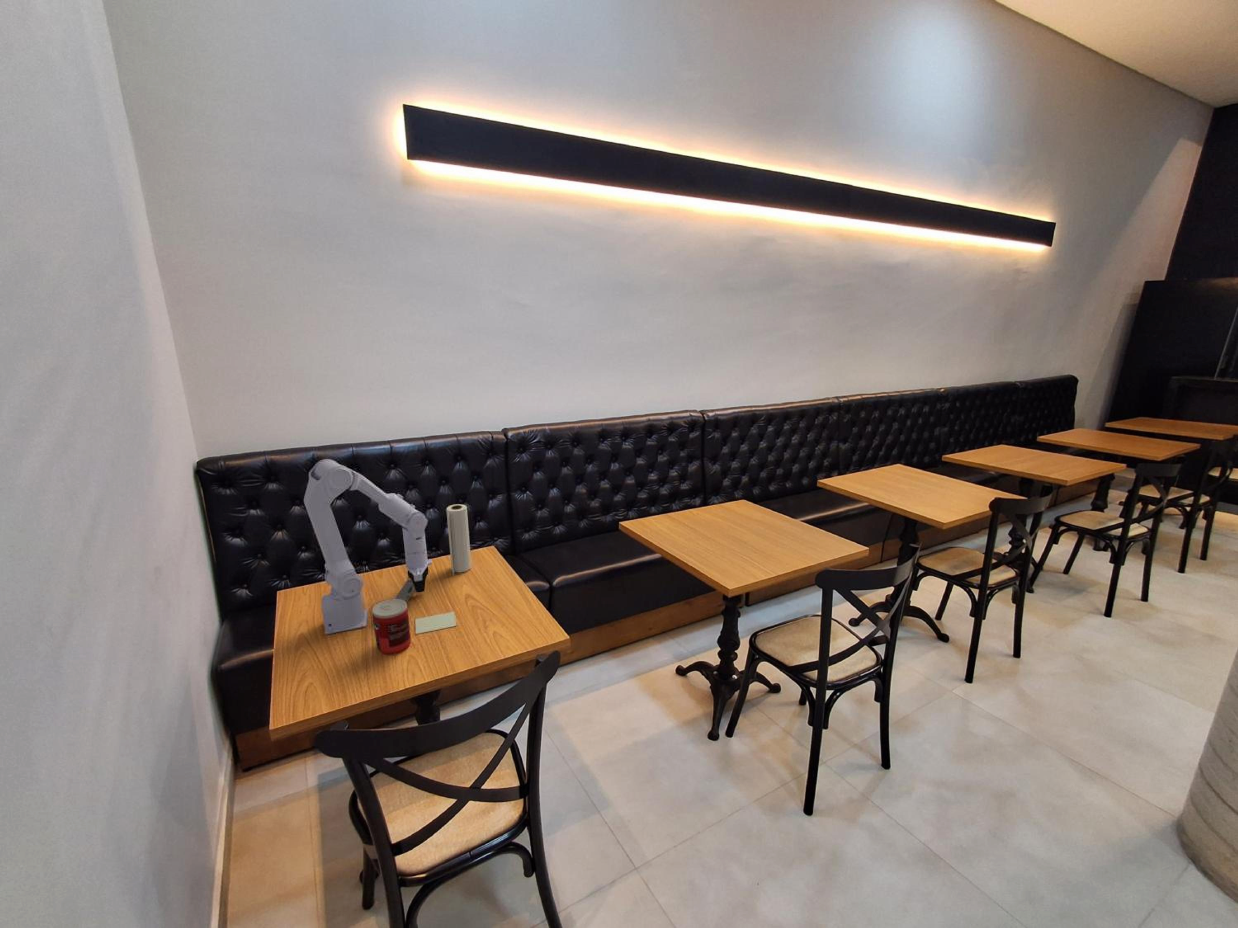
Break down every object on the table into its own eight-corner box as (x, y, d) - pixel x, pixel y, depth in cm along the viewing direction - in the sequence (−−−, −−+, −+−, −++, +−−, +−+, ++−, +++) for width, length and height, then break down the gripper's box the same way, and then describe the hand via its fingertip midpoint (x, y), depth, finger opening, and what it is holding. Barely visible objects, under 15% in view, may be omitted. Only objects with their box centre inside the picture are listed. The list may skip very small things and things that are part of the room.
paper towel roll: (466, 562, 168) (461, 502, 162) (474, 568, 164) (470, 507, 158) (445, 569, 163) (439, 507, 157) (453, 576, 159) (448, 513, 153)
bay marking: (415, 634, 130) (415, 633, 130) (415, 619, 136) (415, 619, 136) (456, 626, 134) (456, 625, 134) (454, 612, 140) (453, 611, 140)
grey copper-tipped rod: (398, 618, 135) (396, 607, 134) (387, 619, 134) (386, 607, 133) (419, 584, 152) (418, 573, 151) (409, 584, 152) (408, 574, 151)
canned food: (386, 635, 129) (380, 597, 126) (416, 636, 129) (412, 598, 126) (371, 655, 122) (365, 615, 119) (403, 656, 122) (398, 616, 119)
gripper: (431, 557, 139) (436, 601, 143) (429, 537, 152) (433, 577, 156) (404, 562, 137) (409, 606, 141) (404, 540, 150) (408, 581, 153)
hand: (420, 591), depth 148 cm, fingers closed
